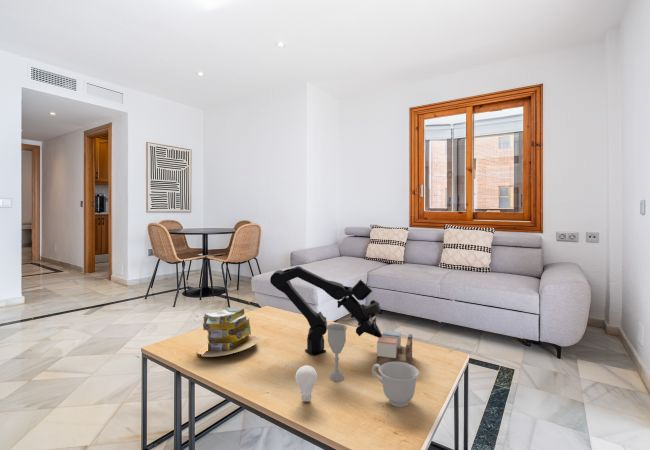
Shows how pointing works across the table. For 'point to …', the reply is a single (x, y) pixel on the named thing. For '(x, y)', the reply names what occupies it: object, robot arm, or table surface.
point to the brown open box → (399, 354)
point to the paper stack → (227, 332)
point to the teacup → (397, 381)
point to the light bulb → (306, 381)
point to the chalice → (336, 346)
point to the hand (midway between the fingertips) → (381, 337)
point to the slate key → (393, 336)
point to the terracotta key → (387, 347)
